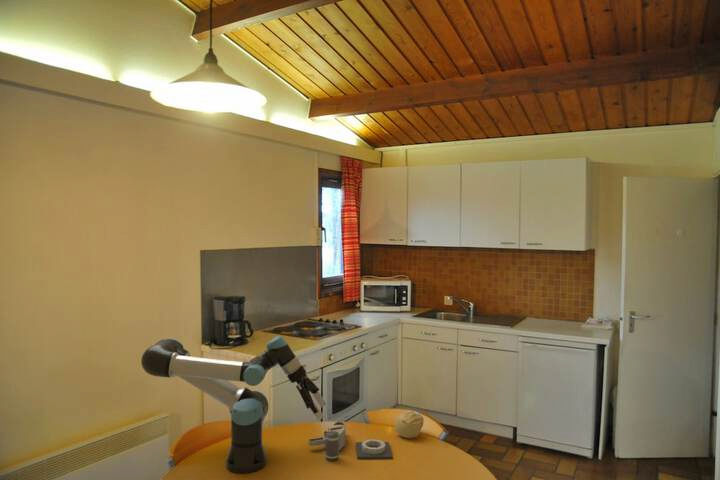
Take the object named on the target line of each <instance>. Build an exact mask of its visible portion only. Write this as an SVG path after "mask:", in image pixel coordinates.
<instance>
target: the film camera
mask: <svg viewBox="0 0 720 480" xmlns="http://www.w3.org/2000/svg"><path fill="white" fill-rule="evenodd" d="M327 428H328V429H327V431H326V430H325V431H324V432H323V435H324V436H322V437H317V438H309V439H308V440H307V441H308V442H307V445H308V446H309V447H316V446H322V445H324V446H326V433H327V432H329V431H336V432H338V433H339V446H338V452H340V451H341V450H342V449H343V448H344V446H345V445H346V441H347V440H346V438H347V437H346V436H347V433H346V430H347V429H346V424H344V423H343V422H341V421H337V422H335V423H334V424H333V425H330V426H328V427H327Z"/></svg>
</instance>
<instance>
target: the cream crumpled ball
mask: <svg viewBox="0 0 720 480" xmlns="http://www.w3.org/2000/svg"><path fill="white" fill-rule="evenodd" d="M423 426H424V417H423V416H422V414H420V413H418V412H416V411H414V410H410V411H402V412H401V413H399V414H398V415H397V416H396V418H395V422H394V428H395V431H396V433H397V434H398V435H399V436H400V437H402V438H405V439H414V438H416V437H418V436H419V435H420V432H421V431H422V428H423Z"/></svg>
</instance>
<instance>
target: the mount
mask: <svg viewBox="0 0 720 480" xmlns="http://www.w3.org/2000/svg"><path fill="white" fill-rule="evenodd" d="M355 449H356V450H355V452H356V460H393V453H392V450H391V446H390V442H389V441H382V440H380V439H366V440H364V441H356V442H355Z"/></svg>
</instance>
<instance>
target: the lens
mask: <svg viewBox="0 0 720 480" xmlns="http://www.w3.org/2000/svg"><path fill="white" fill-rule="evenodd" d="M338 446H339V433H338V432H336V431H329V432H328V431H327V433H326V445H325V461H328V462H337V461H338V460H339V455H340V454H339V451H338Z"/></svg>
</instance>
